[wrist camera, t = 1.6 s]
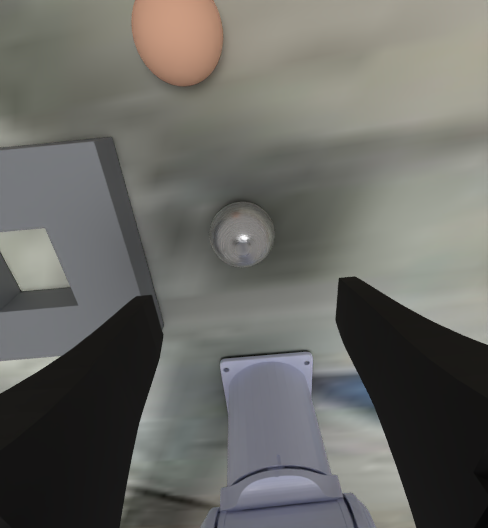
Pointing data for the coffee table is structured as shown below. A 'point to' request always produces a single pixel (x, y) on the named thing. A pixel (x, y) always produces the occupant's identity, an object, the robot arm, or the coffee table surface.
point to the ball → (178, 38)
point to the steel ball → (242, 234)
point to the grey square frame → (69, 244)
